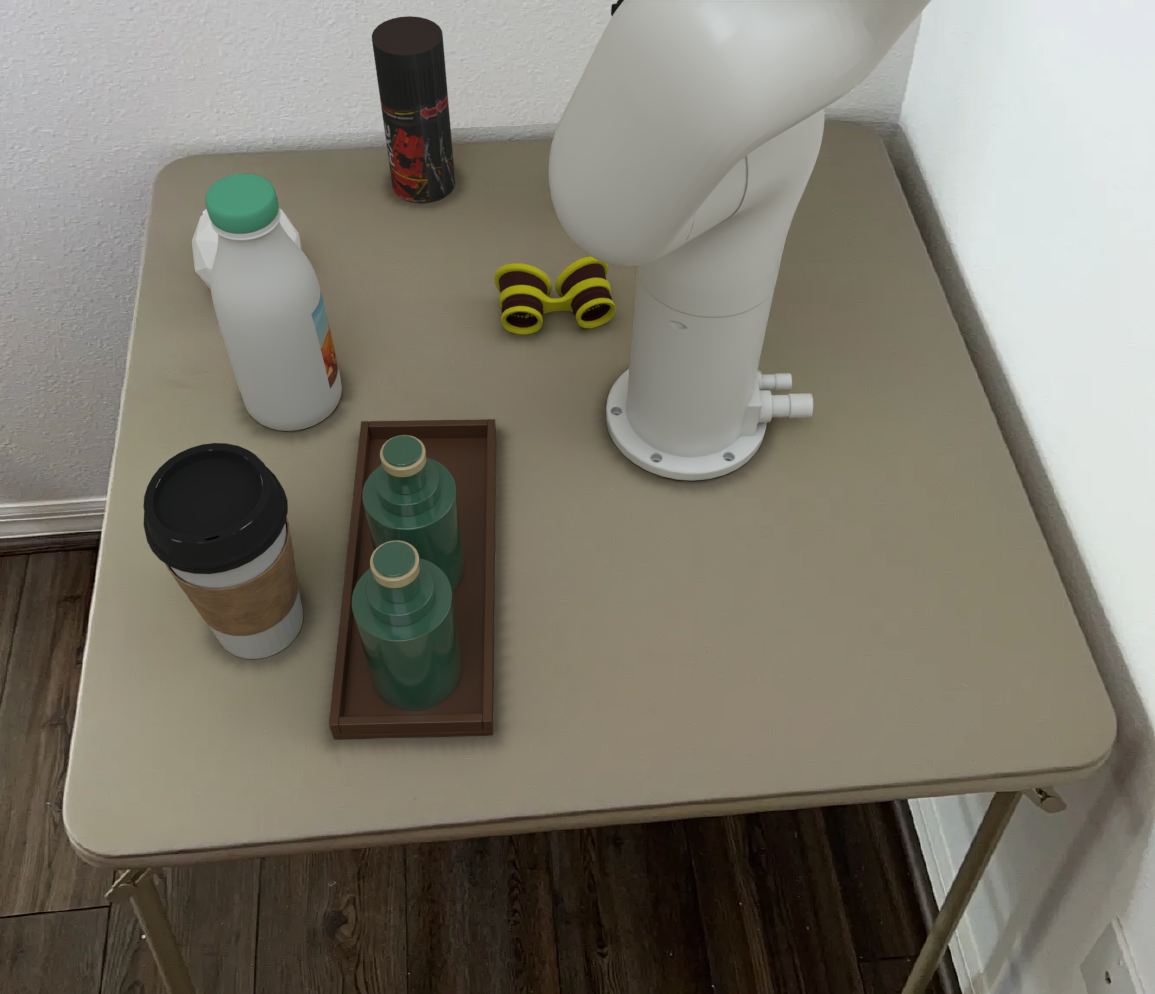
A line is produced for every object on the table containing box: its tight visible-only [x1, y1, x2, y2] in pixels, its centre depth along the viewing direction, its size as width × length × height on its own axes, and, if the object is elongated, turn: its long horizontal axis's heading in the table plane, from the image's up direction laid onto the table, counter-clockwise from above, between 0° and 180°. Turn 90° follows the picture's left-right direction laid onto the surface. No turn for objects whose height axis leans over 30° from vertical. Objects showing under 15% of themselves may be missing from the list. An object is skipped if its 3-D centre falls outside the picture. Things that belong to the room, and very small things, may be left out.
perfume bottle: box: [191, 208, 302, 291], centre depth 95 cm, size 9×9×12 cm
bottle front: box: [352, 541, 462, 711], centre depth 70 cm, size 6×6×13 cm
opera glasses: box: [493, 255, 617, 336], centre depth 94 cm, size 10×5×5 cm, turn 99°
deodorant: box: [371, 15, 456, 204], centre depth 101 cm, size 6×6×15 cm
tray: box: [328, 418, 497, 740], centre depth 79 cm, size 10×25×2 cm, turn 2°
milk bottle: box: [204, 172, 343, 432], centre depth 82 cm, size 8×8×20 cm
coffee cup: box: [142, 442, 304, 660], centre depth 72 cm, size 8×8×15 cm
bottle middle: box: [362, 435, 465, 592], centre depth 74 cm, size 6×6×13 cm
